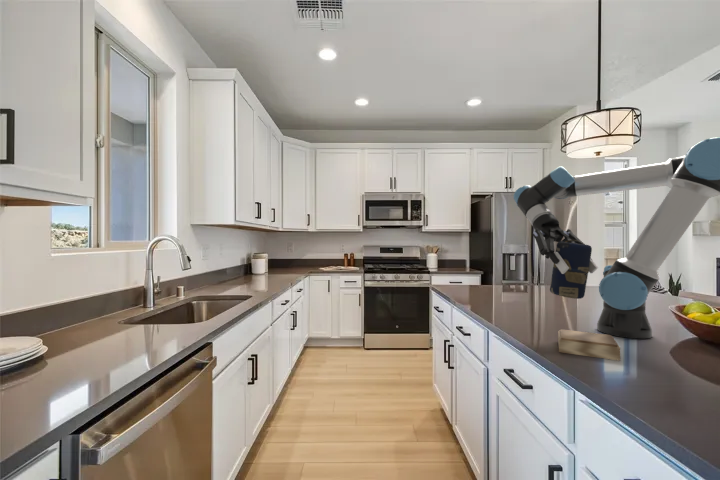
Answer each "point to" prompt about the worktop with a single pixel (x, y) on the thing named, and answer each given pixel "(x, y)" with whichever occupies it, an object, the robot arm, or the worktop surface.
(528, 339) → the worktop surface
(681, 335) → the worktop surface
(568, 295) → the canister
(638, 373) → the worktop surface
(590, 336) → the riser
